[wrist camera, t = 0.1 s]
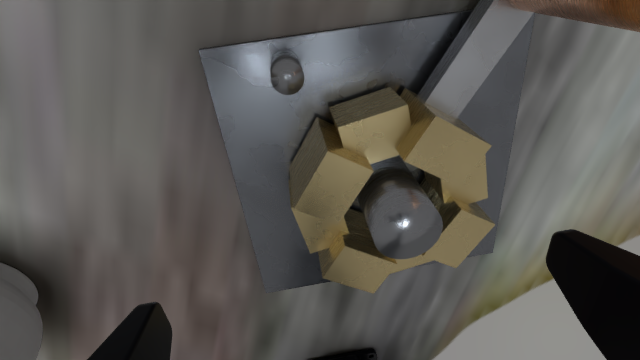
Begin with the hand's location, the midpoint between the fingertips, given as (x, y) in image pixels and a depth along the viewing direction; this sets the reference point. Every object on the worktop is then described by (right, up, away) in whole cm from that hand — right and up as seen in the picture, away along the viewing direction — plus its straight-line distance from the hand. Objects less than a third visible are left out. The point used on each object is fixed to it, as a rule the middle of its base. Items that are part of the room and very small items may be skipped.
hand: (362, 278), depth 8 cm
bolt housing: (+3, +3, +16) cm, 16 cm away
